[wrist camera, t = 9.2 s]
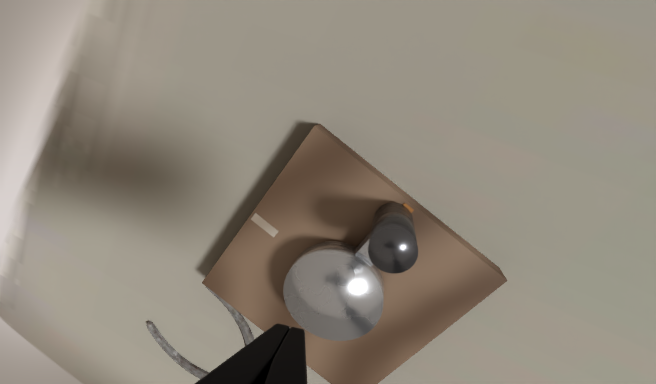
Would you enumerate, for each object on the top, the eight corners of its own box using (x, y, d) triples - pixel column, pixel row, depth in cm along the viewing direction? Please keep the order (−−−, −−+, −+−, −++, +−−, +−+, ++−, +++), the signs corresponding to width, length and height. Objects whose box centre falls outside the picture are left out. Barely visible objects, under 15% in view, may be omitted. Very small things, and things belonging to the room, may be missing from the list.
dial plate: (499, 267, 20) (507, 281, 19) (356, 384, 25) (354, 402, 24) (320, 123, 20) (314, 125, 18) (212, 272, 25) (201, 283, 23)
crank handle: (346, 339, 22) (336, 389, 18) (274, 286, 22) (249, 325, 18) (448, 238, 18) (462, 274, 15) (362, 174, 18) (355, 193, 15)
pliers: (191, 270, 25) (370, 429, 26) (197, 264, 26) (371, 419, 27) (138, 332, 28) (298, 471, 29) (145, 326, 29) (301, 461, 30)
